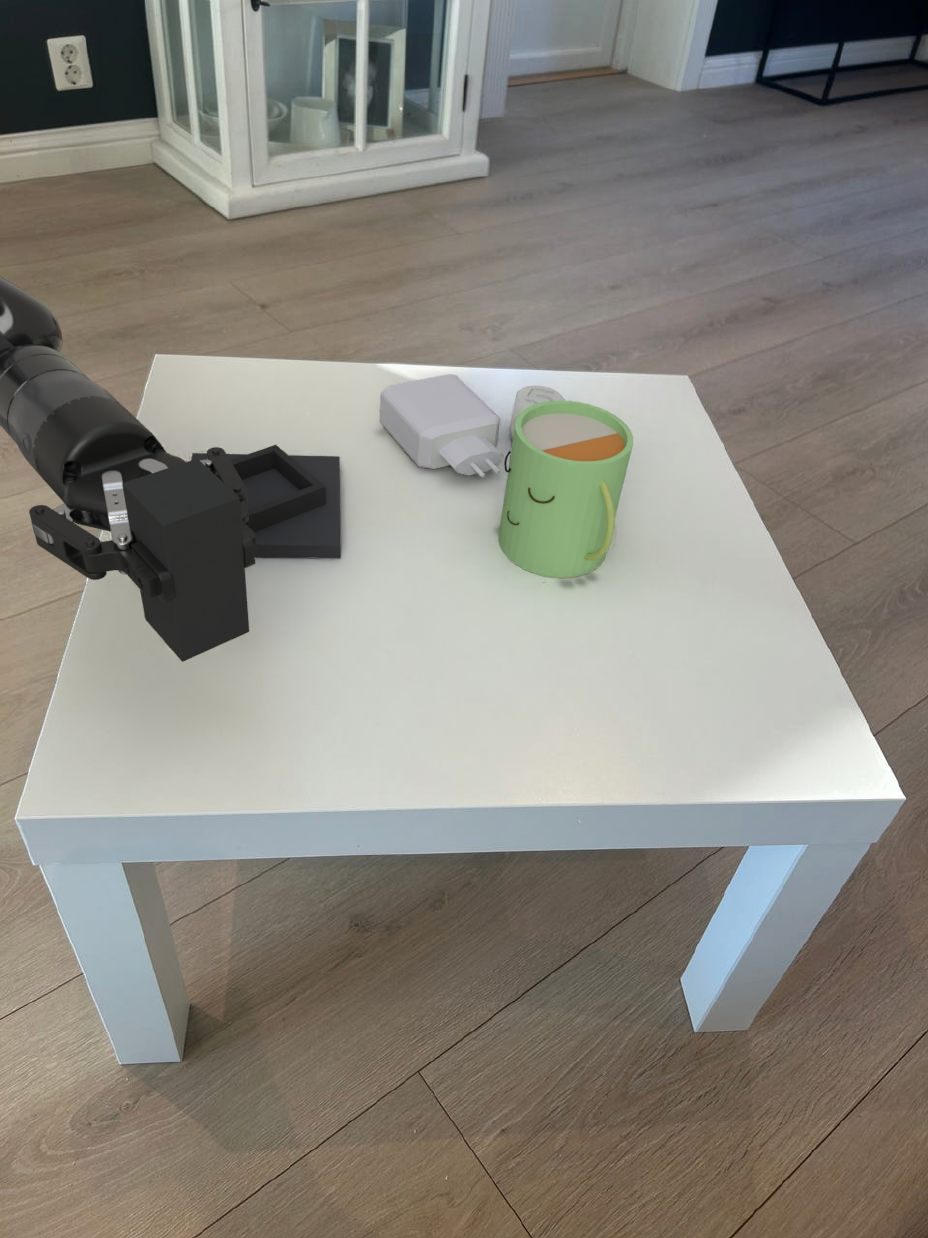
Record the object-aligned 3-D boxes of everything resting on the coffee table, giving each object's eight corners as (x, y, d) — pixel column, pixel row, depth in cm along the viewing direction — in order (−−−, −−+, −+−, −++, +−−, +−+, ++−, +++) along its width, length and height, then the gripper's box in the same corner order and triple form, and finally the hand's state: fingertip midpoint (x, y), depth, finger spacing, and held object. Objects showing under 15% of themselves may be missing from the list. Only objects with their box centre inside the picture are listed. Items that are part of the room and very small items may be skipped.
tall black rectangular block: (182, 662, 62) (162, 525, 55) (144, 619, 65) (121, 482, 57) (249, 632, 65) (240, 497, 57) (211, 591, 67) (197, 457, 60)
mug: (475, 525, 91) (489, 413, 83) (567, 501, 95) (589, 392, 87) (546, 608, 83) (569, 493, 75) (643, 578, 87) (675, 466, 79)
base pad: (177, 557, 83) (172, 524, 81) (193, 465, 93) (190, 434, 91) (340, 558, 85) (340, 526, 83) (339, 468, 95) (339, 438, 93)
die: (559, 430, 105) (567, 389, 101) (553, 455, 101) (561, 413, 97) (514, 422, 105) (520, 381, 102) (506, 446, 101) (512, 404, 98)
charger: (446, 505, 93) (378, 426, 102) (527, 484, 96) (455, 410, 106) (450, 463, 89) (380, 386, 99) (534, 444, 93) (459, 371, 102)
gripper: (183, 458, 74) (309, 576, 65) (-6, 521, 66) (107, 664, 58) (172, 369, 69) (307, 484, 60) (-34, 425, 61) (86, 566, 52)
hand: (209, 571), depth 59 cm, fingers closed on tall black rectangular block, 5 cm apart
